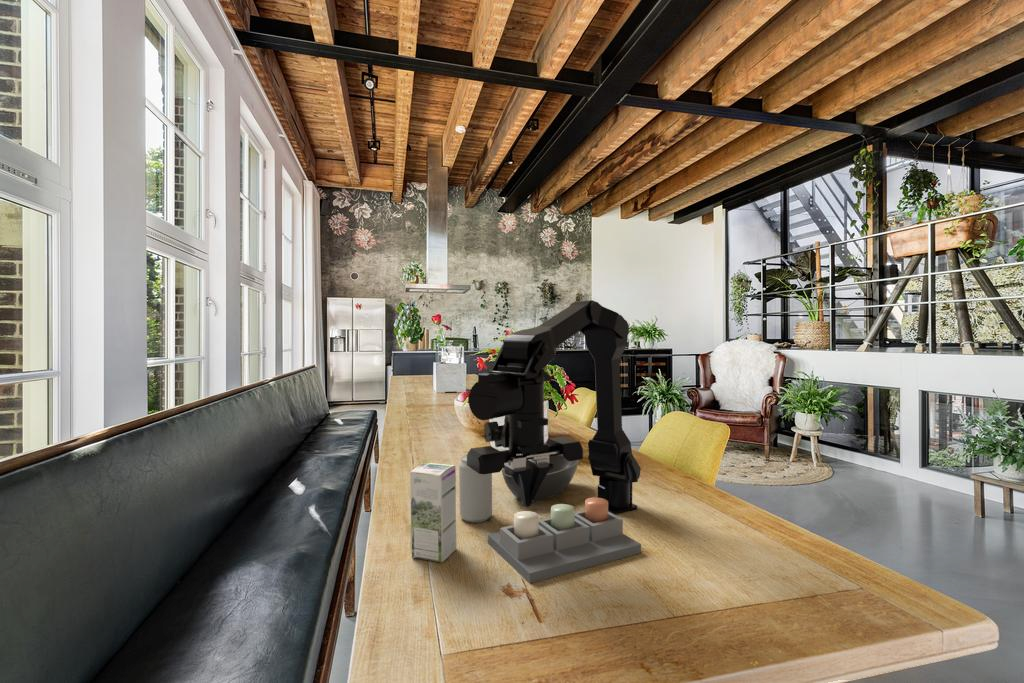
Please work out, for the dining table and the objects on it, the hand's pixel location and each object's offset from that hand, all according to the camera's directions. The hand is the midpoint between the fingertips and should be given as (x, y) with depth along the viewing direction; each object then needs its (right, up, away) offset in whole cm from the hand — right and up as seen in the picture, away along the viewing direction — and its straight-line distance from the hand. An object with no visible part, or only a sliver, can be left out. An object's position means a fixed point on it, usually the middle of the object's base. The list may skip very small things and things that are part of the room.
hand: (526, 506), depth 80 cm
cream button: (0, -5, 0) cm, 5 cm away
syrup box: (-15, -9, +2) cm, 18 cm away
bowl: (+4, -8, +32) cm, 33 cm away
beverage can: (-10, -8, +17) cm, 21 cm away
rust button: (+12, -4, +6) cm, 15 cm away
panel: (+6, -8, +3) cm, 11 cm away
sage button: (+6, -5, +3) cm, 8 cm away
